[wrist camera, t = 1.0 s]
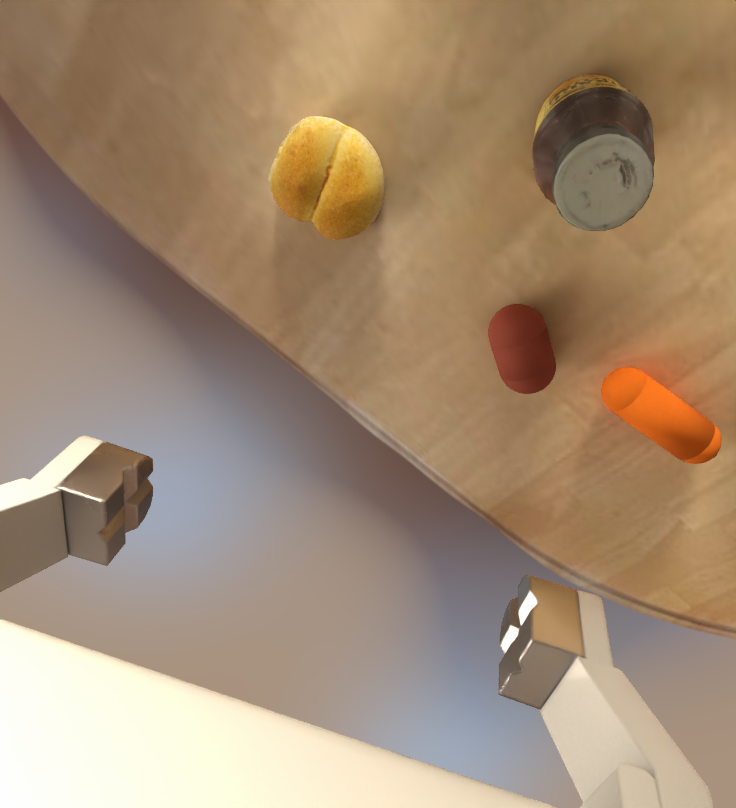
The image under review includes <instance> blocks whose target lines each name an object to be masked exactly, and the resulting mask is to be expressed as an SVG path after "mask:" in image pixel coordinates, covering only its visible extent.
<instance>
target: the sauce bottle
mask: <svg viewBox="0 0 736 808" xmlns="http://www.w3.org/2000/svg"><path fill="white" fill-rule="evenodd" d="M532 158H533V171H534V174H535V178H536V181H537V183H538V186H539V187H540V189H541V191H542V192H543V194H544V196H545V197H546V199H549V200H550V202H552V203H553V204H554V205H556V207H557V209H558V211H559V213H560V214H561V216H562V217H563V218H565V219H566V220H567V221H568V222H569V223H570V224H572V225H573V226H575V227H578V228H580V229H583V230H588V231H606V230H610V229H613V228H616V227H618V226H621V225H622V224H624V223H626V222H627V221H628V220H629V219H631V218H632V217H634V216H635V215H636V213H637V212H638V211H639V210H640V209H641V208H642V207H643V206H644V204H645V203H646V201H647V199H648V198H649V195H650V192H651V189H652V186H653V177H654V170H653V166H654V161H655V156H654V141H653V126H652V121H651V117H650V115H649V112H648V110H647V109H646V107H645V106H644V104H643V103H642V102H641V101H640V100H639V99H638V98H637V97H636V96H635V95H633V94H632V93H631V92H630V91H629V90H627V89H626V88H625V87H624V86H622V85H621V84H619V83H618V82H617V81H615V80H613V79H611V78H609V77H606V76H603V75H597V74H586V75H581V76H577V77H574V78H571V79H569V80H567V81H566V82H564V83H563V84H561V85H560V86H558V87H557V88H556V89H555V90H554V91H553V92H552V93H551V94H550V95H549V96H548V98H547V99H546V100H545V102H544V104H543V105H542V107H541V110H540V112H539V115H538V118H537V122H536V128H535V135H534V142H533V150H532Z"/></svg>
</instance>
